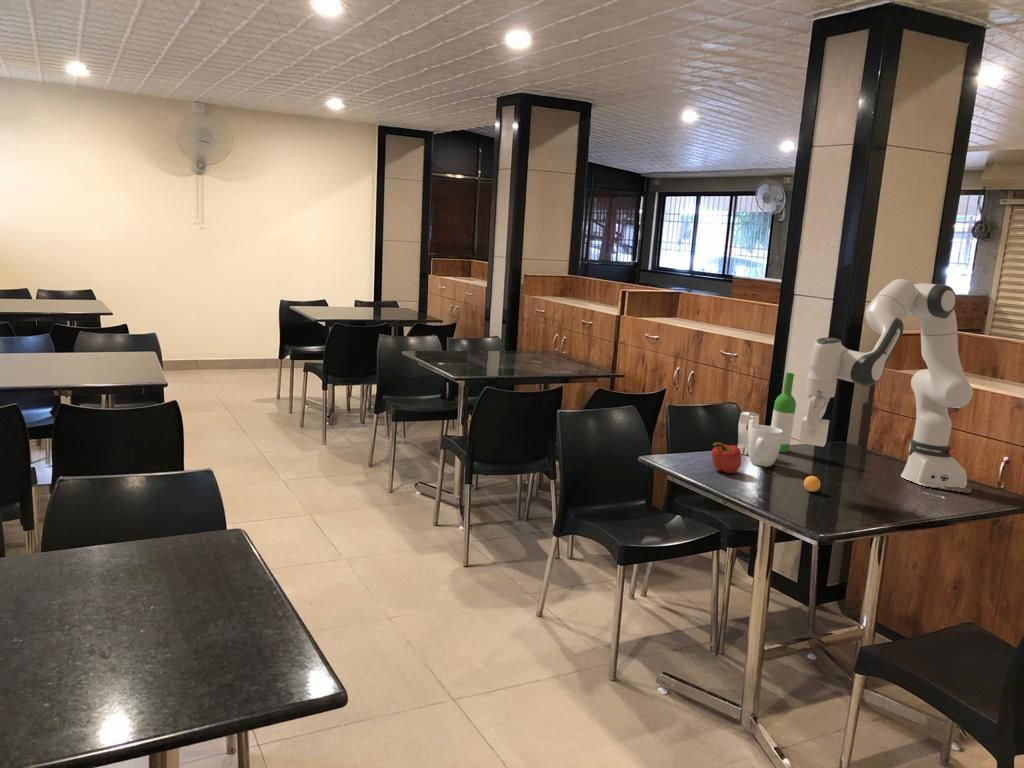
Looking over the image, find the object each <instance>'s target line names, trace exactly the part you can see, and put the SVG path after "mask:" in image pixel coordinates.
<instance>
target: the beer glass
mask: <svg viewBox="0 0 1024 768" xmlns="http://www.w3.org/2000/svg"><path fill="white" fill-rule="evenodd" d="M739 415H740V416H739V420H738V427H737V429H738V430H737V435H738V438H737V439H738V442H737V445H736V446H737V447H738V448H739V449H740V452H741V455H742V454H744V455H743V456H749V452H748V442H749V434H750V428H751V426H752V425H760V424H759V421H760V414H758V413H755V412H750V411H741V412H740V414H739Z"/></svg>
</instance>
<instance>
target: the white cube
mask: <svg viewBox="0 0 1024 768" xmlns="http://www.w3.org/2000/svg"><path fill="white" fill-rule="evenodd" d="M809 423H810V422H807V415H806V416H804V417H803V418H802V420H801V427H800V433H799V439H798V443H799V444H805V445H810V446H816V447H817V446H818V447H823V448H824V447H825V445H826V443H827V439H828V433H829V425H830V420H829V419H824V418H823V419H822V418H821V420H820V421H819V423H817V426H816V431H815V435H809Z"/></svg>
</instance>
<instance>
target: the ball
mask: <svg viewBox="0 0 1024 768" xmlns="http://www.w3.org/2000/svg"><path fill="white" fill-rule="evenodd" d="M803 486H804V488H805V489H806V491H807V492H811V493H812V492H813V493H814V492H817V491H819V489H820V488H821V480H820V479H819V478H818V477H817V476H815V475H810V476H807V477H805V479H804V481H803Z"/></svg>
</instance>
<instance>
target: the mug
mask: <svg viewBox="0 0 1024 768" xmlns="http://www.w3.org/2000/svg"><path fill="white" fill-rule="evenodd" d="M782 434H783V431H782V430H781V429H778V428H775V427H771V425H763V424H758V425H752V426H751V428H750V434H749V442H748V452H749V455H748V456H749V461H750V462H751V464H752V463H753V464H752V465H754V464H755V466H757V465H759V466H758V467H761V466H764V467H763V468H770V467H772V465H774V464H775V462H776V461H777V458H778V456H779V453H780V452H779V450H780V446H781V440H782ZM769 466H770V467H769Z"/></svg>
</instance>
